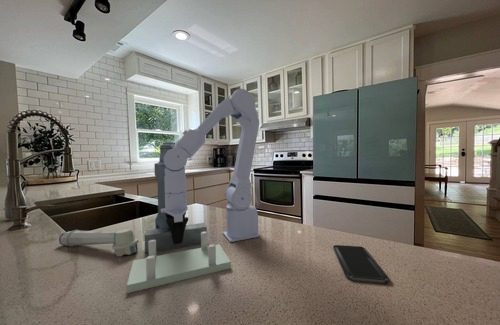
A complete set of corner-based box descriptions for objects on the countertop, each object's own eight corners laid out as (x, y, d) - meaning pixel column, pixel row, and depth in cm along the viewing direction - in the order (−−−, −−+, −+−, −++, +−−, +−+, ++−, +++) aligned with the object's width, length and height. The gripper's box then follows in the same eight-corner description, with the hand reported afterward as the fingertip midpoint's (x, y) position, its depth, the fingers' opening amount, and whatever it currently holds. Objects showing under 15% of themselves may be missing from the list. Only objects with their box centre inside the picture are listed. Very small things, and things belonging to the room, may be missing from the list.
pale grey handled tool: (75, 228, 63) (140, 223, 56) (78, 249, 63) (144, 247, 56) (54, 234, 58) (123, 230, 51) (58, 258, 58) (127, 256, 51)
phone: (347, 277, 41) (332, 244, 56) (347, 282, 41) (332, 248, 56) (392, 281, 39) (364, 246, 54) (391, 286, 39) (364, 250, 54)
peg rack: (219, 249, 55) (218, 229, 55) (231, 268, 46) (230, 244, 46) (133, 266, 47) (132, 242, 47) (127, 293, 38) (125, 264, 38)
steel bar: (204, 238, 63) (204, 222, 63) (207, 244, 60) (206, 226, 60) (146, 248, 58) (146, 230, 57) (145, 254, 54) (144, 235, 54)
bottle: (157, 225, 76) (154, 143, 75) (185, 222, 79) (183, 143, 78) (153, 234, 67) (150, 141, 66) (185, 230, 70) (183, 141, 69)
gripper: (160, 189, 63) (161, 233, 64) (160, 198, 50) (161, 254, 50) (184, 187, 66) (185, 230, 66) (190, 195, 53) (191, 248, 53)
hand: (177, 240), depth 59 cm, fingers closed on steel bar, 4 cm apart
